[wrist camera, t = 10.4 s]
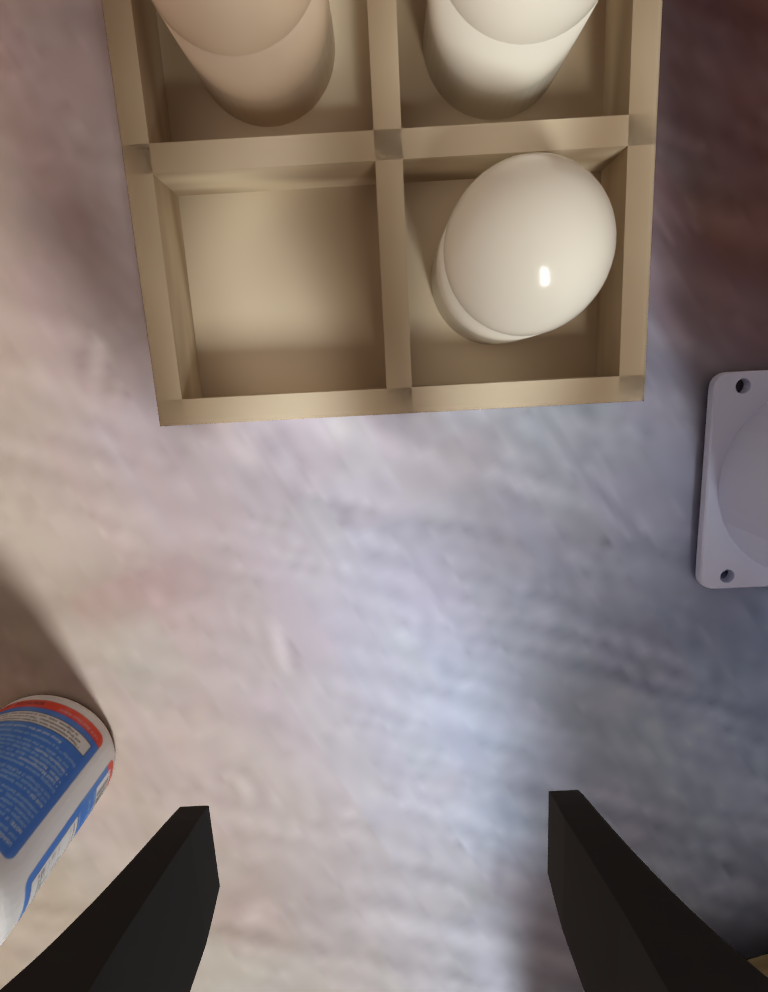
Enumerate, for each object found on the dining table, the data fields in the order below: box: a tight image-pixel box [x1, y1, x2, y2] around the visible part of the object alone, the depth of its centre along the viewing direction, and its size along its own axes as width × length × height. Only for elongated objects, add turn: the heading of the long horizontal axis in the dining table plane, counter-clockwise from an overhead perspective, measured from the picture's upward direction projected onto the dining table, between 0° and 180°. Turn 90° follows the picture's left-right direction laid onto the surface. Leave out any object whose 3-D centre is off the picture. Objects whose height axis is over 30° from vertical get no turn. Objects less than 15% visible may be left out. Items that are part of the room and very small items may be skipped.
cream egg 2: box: [431, 152, 616, 345], centre depth 15 cm, size 4×4×6 cm
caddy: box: [102, 0, 662, 426], centre depth 17 cm, size 15×15×2 cm
